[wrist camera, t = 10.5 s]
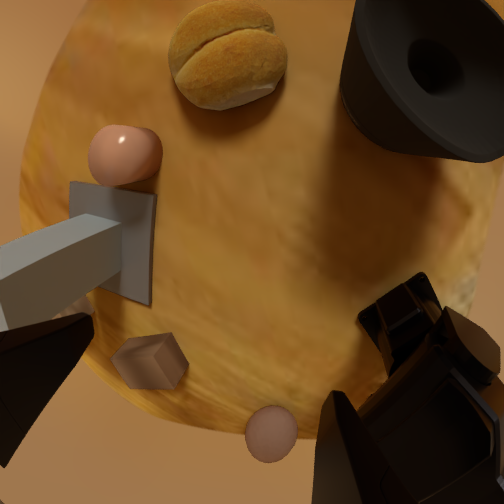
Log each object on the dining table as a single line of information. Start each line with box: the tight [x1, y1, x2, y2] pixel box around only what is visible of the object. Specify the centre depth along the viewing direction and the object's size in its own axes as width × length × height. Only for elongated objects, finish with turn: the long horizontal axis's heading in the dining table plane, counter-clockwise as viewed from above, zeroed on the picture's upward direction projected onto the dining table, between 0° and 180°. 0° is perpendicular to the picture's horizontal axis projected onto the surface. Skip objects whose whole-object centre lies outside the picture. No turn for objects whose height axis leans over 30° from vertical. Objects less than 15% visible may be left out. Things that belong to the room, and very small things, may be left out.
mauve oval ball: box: [245, 406, 298, 463], centre depth 23 cm, size 5×5×7 cm
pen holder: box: [340, 0, 504, 163], centre depth 11 cm, size 9×9×10 cm
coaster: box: [69, 181, 157, 305], centre depth 23 cm, size 10×10×1 cm
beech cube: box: [51, 295, 95, 320], centre depth 25 cm, size 4×4×4 cm
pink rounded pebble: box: [88, 125, 163, 187], centre depth 18 cm, size 4×4×4 cm
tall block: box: [0, 214, 122, 332], centre depth 17 cm, size 4×4×13 cm
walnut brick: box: [110, 332, 189, 389], centre depth 25 cm, size 6×4×4 cm, turn 109°
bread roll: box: [168, 0, 287, 111], centre depth 15 cm, size 8×9×4 cm
